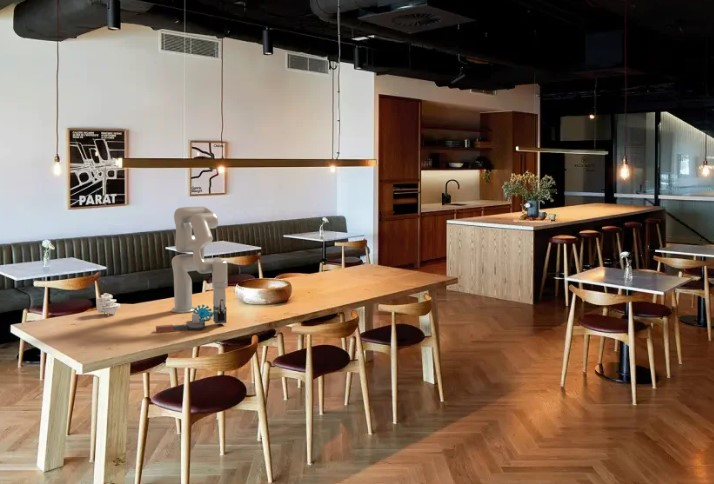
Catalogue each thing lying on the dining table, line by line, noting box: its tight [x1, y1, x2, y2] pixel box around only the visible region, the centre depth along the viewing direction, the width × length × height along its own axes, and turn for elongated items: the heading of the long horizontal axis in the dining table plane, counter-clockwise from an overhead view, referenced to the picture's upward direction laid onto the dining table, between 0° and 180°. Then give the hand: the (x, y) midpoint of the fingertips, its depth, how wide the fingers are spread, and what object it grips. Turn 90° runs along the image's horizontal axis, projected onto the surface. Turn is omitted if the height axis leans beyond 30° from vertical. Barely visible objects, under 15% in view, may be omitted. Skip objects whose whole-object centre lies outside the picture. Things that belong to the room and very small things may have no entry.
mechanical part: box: [96, 292, 121, 317], centre depth 350 cm, size 11×12×12 cm
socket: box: [212, 305, 228, 324], centre depth 330 cm, size 6×6×8 cm
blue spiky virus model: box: [192, 304, 213, 322], centre depth 342 cm, size 11×6×10 cm
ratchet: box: [155, 313, 206, 334], centre depth 319 cm, size 9×24×7 cm, turn 113°
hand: (219, 318), depth 331 cm, fingers closed on socket, 5 cm apart
